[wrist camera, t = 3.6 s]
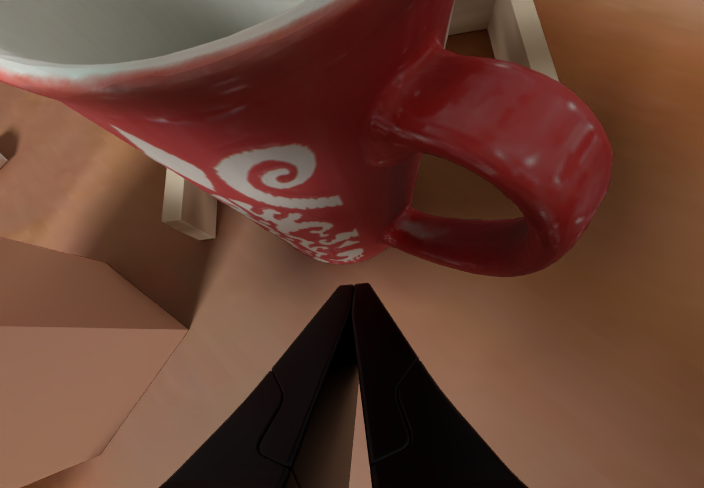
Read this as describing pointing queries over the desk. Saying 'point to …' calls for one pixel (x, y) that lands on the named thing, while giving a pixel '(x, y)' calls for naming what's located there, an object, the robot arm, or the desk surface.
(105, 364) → the terracotta pot
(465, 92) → the mug
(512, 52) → the bay
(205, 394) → the desk surface
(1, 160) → the marker
